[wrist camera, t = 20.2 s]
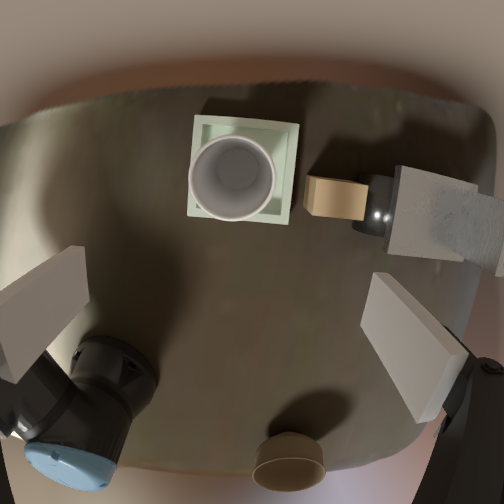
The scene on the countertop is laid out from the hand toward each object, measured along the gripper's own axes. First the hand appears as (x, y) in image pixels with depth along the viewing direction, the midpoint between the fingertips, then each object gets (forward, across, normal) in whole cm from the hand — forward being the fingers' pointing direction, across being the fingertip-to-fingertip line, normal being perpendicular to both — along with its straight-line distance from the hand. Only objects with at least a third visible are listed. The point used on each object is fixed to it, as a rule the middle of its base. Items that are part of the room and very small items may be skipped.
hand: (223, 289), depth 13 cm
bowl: (+27, +12, -43) cm, 52 cm away
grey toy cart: (+27, +23, +2) cm, 35 cm away
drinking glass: (+26, 0, +4) cm, 27 cm away
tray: (+27, 0, +4) cm, 27 cm away
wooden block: (+27, +11, +2) cm, 29 cm away
